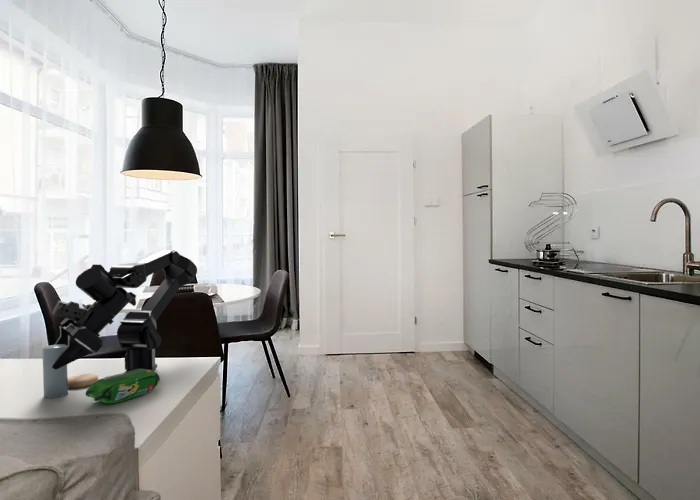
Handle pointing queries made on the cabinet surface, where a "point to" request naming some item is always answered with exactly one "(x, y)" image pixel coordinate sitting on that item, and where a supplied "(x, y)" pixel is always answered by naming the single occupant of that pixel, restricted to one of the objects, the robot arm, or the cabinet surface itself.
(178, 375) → the cabinet surface
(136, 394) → the snack package
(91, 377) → the tan round disc
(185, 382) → the cabinet surface
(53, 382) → the grey rounded cylinder
